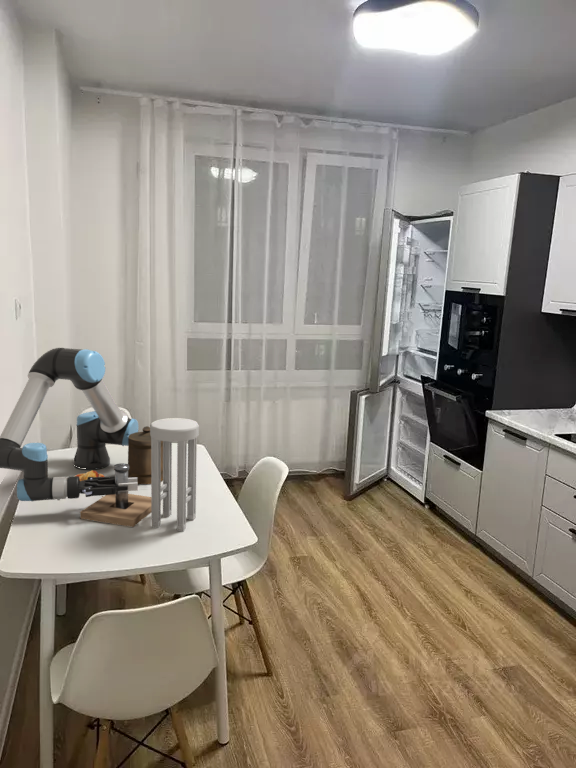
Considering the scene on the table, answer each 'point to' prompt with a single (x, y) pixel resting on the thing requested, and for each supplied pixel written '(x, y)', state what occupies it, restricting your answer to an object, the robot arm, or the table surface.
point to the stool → (169, 433)
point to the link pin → (121, 477)
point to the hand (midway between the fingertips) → (137, 483)
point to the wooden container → (141, 456)
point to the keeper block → (118, 510)
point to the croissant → (89, 475)
